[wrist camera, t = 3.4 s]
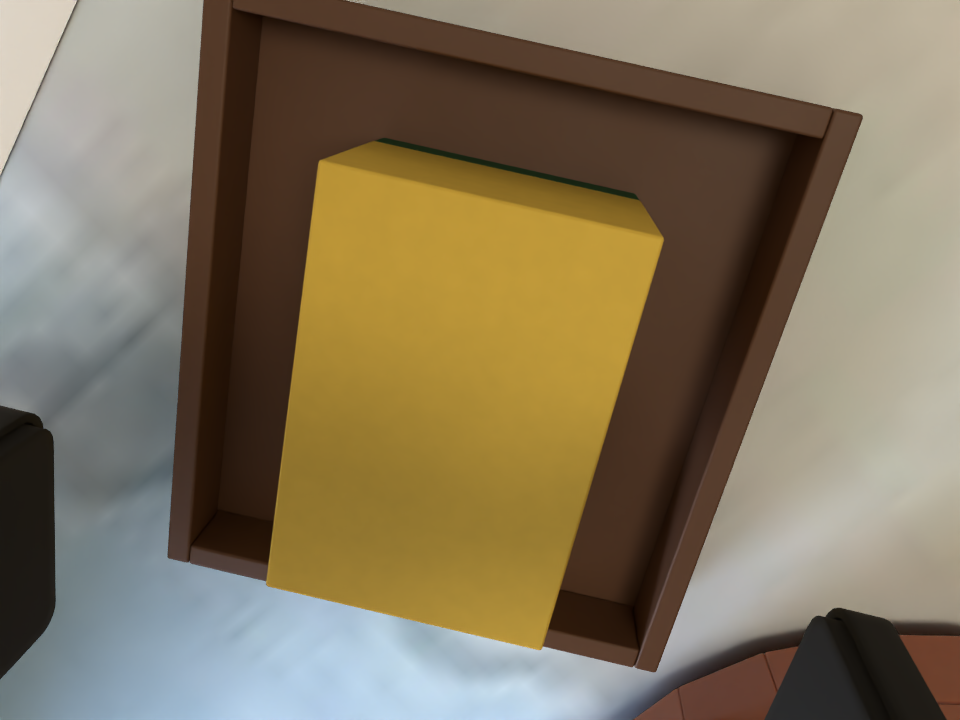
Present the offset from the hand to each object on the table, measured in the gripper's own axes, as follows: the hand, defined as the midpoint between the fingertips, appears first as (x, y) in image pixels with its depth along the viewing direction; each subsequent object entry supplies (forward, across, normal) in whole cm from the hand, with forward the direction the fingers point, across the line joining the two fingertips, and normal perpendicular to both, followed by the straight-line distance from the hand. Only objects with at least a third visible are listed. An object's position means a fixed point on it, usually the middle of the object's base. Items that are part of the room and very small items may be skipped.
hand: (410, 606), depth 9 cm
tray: (+11, 0, +1) cm, 11 cm away
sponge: (+10, 0, 0) cm, 10 cm away
